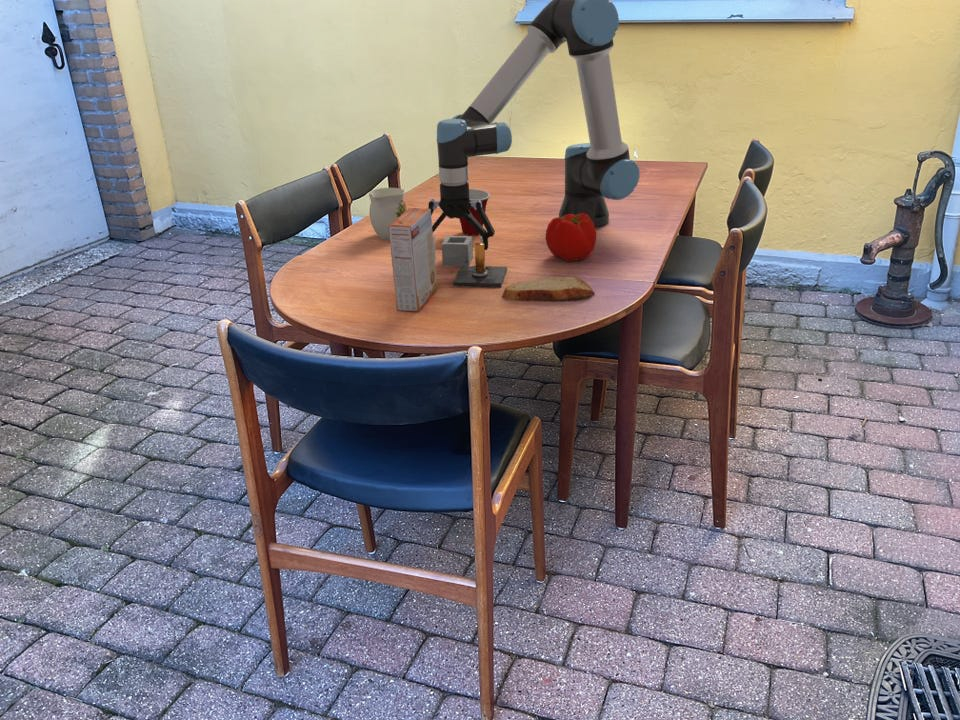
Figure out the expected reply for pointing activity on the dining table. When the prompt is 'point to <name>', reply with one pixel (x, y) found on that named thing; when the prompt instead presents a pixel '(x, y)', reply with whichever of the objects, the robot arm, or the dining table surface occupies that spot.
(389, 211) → the pitcher
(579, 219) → the tomato
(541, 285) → the bread slice
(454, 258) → the hollow gray block
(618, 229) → the dining table surface
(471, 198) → the plastic cup
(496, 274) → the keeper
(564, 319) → the dining table surface
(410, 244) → the cracker box
